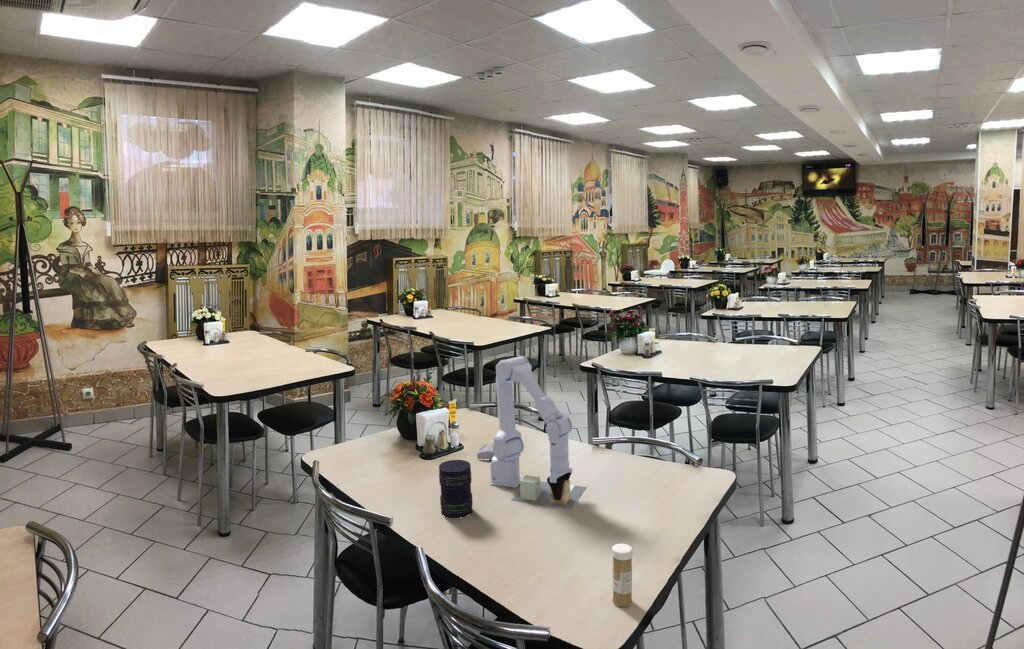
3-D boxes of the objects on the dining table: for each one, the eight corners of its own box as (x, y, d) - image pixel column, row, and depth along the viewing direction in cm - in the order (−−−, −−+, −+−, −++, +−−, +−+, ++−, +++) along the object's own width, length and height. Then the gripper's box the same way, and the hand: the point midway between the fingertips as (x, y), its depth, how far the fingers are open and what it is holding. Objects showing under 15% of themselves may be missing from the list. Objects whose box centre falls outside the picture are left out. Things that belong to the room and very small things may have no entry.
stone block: (476, 465, 240) (502, 461, 238) (473, 453, 240) (499, 449, 238) (483, 455, 252) (508, 451, 250) (481, 444, 251) (505, 439, 249)
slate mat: (511, 500, 204) (511, 499, 204) (529, 480, 220) (529, 479, 220) (571, 508, 197) (571, 508, 197) (586, 487, 213) (586, 486, 212)
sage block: (520, 498, 205) (520, 481, 204) (526, 492, 209) (525, 475, 208) (535, 500, 203) (534, 482, 202) (540, 494, 207) (540, 477, 207)
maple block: (550, 502, 201) (549, 484, 200) (555, 496, 206) (554, 478, 205) (565, 504, 199) (565, 486, 198) (570, 498, 204) (569, 480, 203)
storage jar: (447, 521, 191) (445, 474, 188) (436, 509, 199) (433, 463, 197) (478, 514, 195) (476, 467, 193) (465, 502, 204) (463, 457, 202)
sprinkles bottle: (609, 598, 149) (609, 544, 147) (628, 595, 150) (628, 541, 148) (616, 609, 145) (616, 553, 143) (635, 606, 146) (635, 551, 143)
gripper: (564, 464, 192) (565, 507, 194) (578, 448, 205) (578, 488, 207) (542, 461, 195) (543, 504, 197) (557, 446, 208) (557, 486, 210)
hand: (560, 496), depth 202 cm, fingers closed on maple block, 5 cm apart
